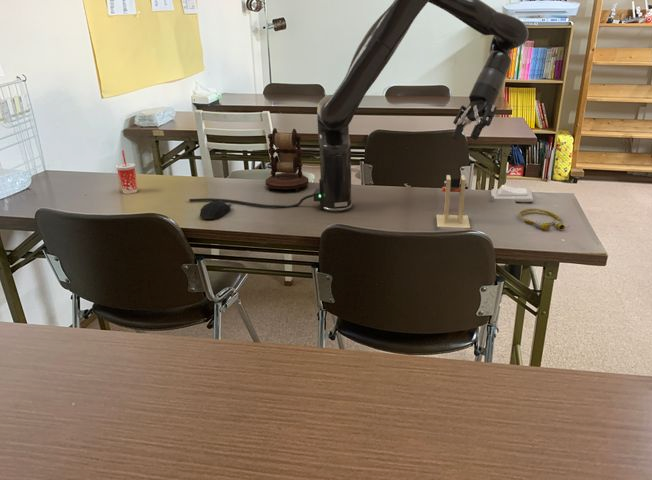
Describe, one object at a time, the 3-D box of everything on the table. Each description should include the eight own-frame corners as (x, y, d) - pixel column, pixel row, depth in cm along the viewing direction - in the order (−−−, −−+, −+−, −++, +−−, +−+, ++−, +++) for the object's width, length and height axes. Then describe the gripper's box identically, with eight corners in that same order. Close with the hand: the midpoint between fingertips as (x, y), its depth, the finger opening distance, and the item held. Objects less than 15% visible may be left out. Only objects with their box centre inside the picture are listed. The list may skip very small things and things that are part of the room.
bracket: (436, 218, 163) (438, 172, 157) (467, 219, 162) (471, 172, 156) (437, 230, 154) (439, 182, 148) (470, 231, 153) (474, 182, 147)
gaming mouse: (239, 205, 174) (238, 193, 173) (214, 221, 161) (213, 208, 160) (221, 204, 176) (220, 191, 174) (195, 219, 163) (194, 206, 162)
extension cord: (518, 229, 154) (518, 222, 154) (517, 211, 168) (518, 204, 167) (564, 233, 152) (565, 226, 151) (560, 214, 165) (561, 207, 165)
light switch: (491, 181, 185) (531, 181, 182) (490, 193, 187) (530, 193, 184) (491, 191, 175) (534, 191, 173) (491, 203, 177) (533, 203, 174)
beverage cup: (135, 194, 186) (128, 152, 180) (117, 194, 186) (109, 152, 180) (142, 188, 191) (135, 148, 186) (124, 189, 192) (117, 148, 186)
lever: (442, 193, 165) (442, 185, 165) (462, 194, 164) (463, 186, 164) (444, 187, 152) (444, 178, 152) (466, 187, 151) (467, 178, 151)
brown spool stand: (313, 182, 198) (311, 124, 189) (302, 194, 185) (299, 133, 176) (273, 180, 200) (269, 123, 192) (260, 192, 187) (255, 132, 179)
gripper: (462, 83, 165) (440, 132, 165) (494, 78, 153) (470, 132, 153) (480, 96, 169) (458, 144, 169) (512, 92, 157) (488, 145, 156)
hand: (464, 138), depth 161 cm, fingers open, 8 cm apart
